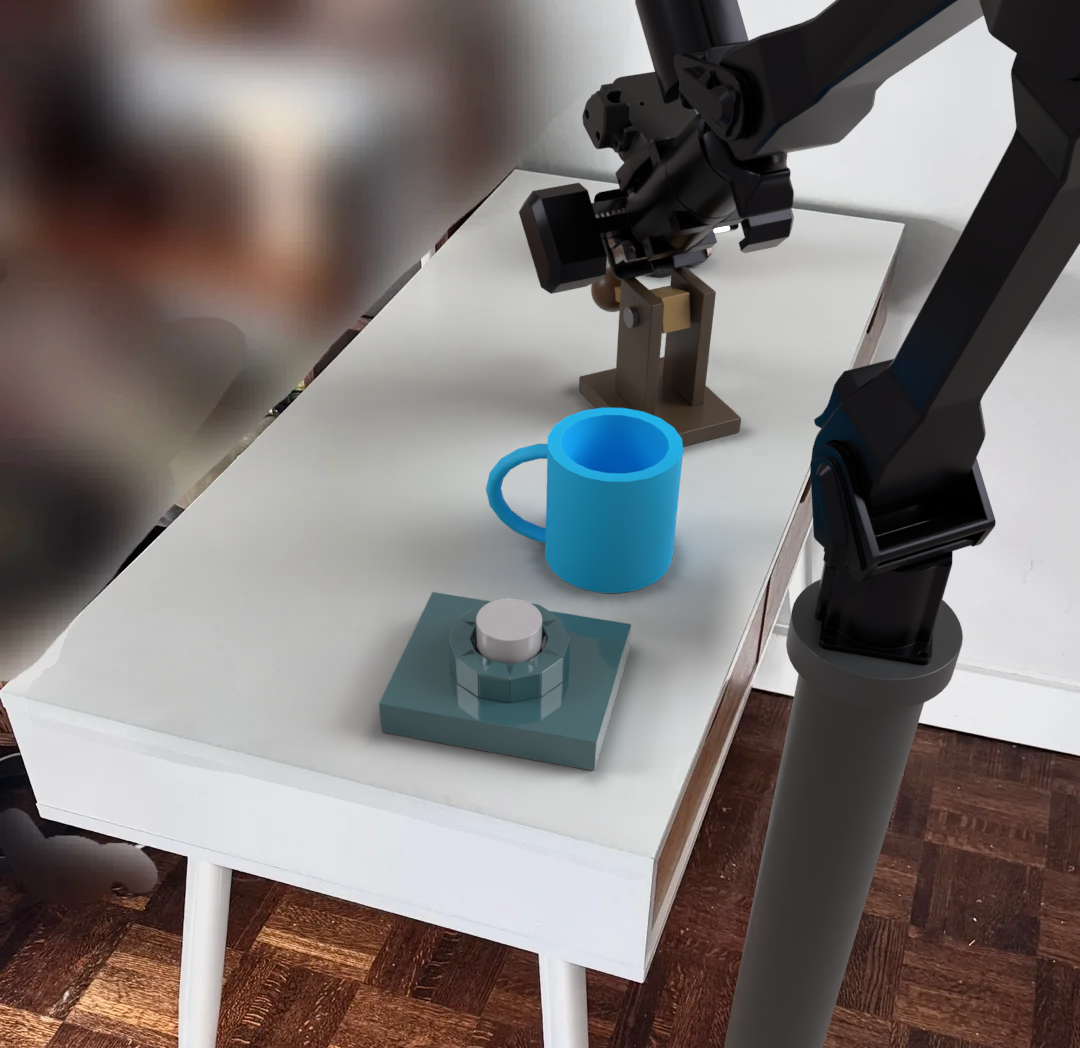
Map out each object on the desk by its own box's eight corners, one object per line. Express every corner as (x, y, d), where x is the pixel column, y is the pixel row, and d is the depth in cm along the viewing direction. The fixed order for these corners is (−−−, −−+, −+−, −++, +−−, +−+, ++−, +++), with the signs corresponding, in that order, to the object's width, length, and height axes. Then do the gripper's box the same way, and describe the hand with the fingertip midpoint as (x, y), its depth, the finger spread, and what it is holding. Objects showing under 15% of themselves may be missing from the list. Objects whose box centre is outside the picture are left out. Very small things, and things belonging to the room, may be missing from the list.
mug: (677, 523, 88) (689, 414, 82) (665, 600, 82) (676, 488, 76) (498, 503, 89) (497, 395, 83) (474, 578, 83) (471, 467, 78)
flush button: (548, 627, 74) (549, 603, 73) (533, 669, 72) (533, 645, 71) (486, 617, 75) (485, 593, 74) (468, 658, 72) (468, 634, 71)
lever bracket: (578, 390, 100) (582, 265, 93) (671, 368, 102) (682, 245, 95) (642, 457, 93) (652, 328, 86) (740, 432, 96) (757, 305, 89)
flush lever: (585, 311, 100) (582, 267, 99) (622, 303, 101) (620, 259, 100) (657, 341, 91) (654, 293, 90) (697, 332, 92) (695, 284, 91)
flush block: (629, 652, 78) (633, 599, 76) (594, 771, 71) (597, 717, 69) (433, 619, 80) (430, 566, 77) (381, 732, 73) (375, 679, 70)
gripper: (798, 26, 85) (693, 137, 100) (533, 65, 79) (464, 177, 94) (846, 196, 86) (734, 282, 100) (587, 248, 80) (509, 331, 95)
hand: (613, 264), depth 97 cm, fingers closed, pressing on lever bracket
